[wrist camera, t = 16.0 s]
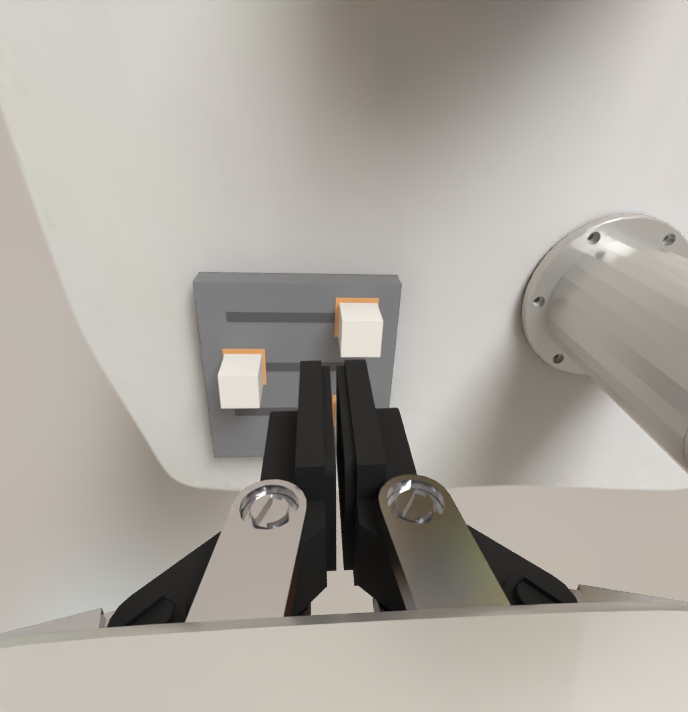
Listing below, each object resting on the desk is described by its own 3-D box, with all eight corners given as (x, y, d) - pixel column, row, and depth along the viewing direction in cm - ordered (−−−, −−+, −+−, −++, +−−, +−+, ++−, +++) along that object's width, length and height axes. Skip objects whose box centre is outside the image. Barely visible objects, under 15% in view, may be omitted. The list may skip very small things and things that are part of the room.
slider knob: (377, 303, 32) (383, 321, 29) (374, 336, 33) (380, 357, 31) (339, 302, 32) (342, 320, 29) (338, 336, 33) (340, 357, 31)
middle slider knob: (261, 354, 33) (257, 375, 31) (263, 384, 35) (259, 408, 32) (224, 353, 33) (217, 375, 31) (227, 384, 34) (221, 408, 32)
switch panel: (396, 275, 34) (401, 284, 32) (380, 439, 41) (384, 454, 39) (198, 272, 33) (192, 282, 31) (218, 441, 40) (214, 457, 38)
